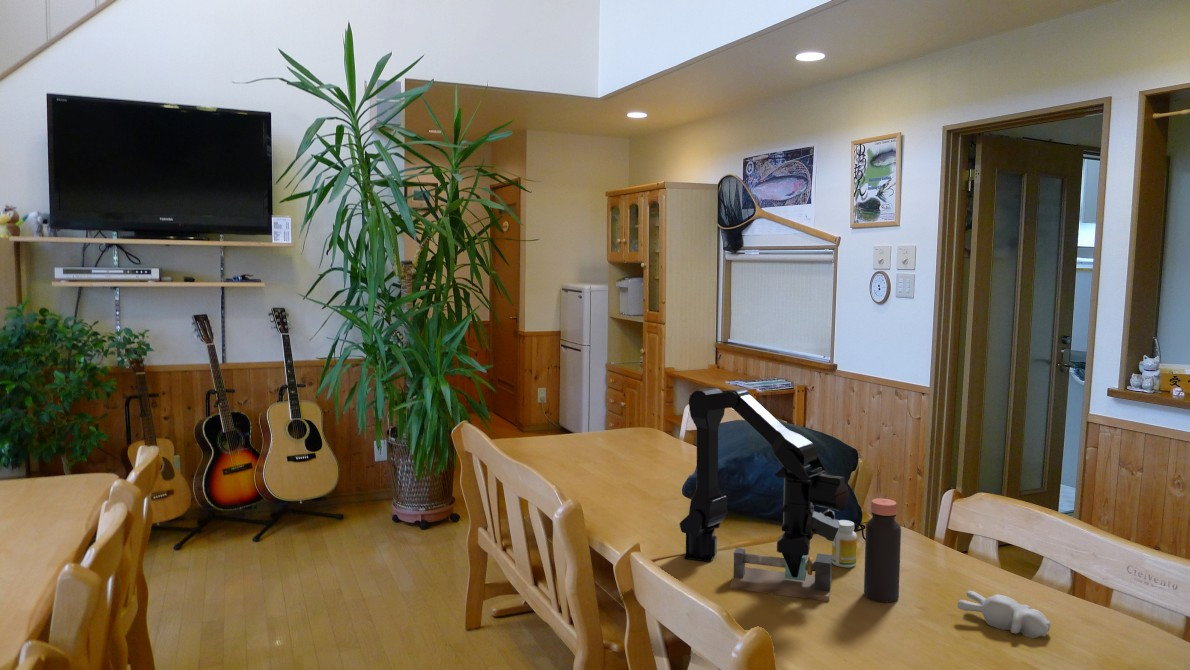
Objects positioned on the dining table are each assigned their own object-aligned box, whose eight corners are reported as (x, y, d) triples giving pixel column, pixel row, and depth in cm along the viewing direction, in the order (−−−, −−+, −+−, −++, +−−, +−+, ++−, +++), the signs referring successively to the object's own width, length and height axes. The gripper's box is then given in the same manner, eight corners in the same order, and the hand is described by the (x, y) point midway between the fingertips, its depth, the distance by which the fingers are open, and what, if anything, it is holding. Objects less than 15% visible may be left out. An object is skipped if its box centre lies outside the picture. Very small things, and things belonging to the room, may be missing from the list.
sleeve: (785, 578, 167) (785, 556, 167) (787, 569, 172) (788, 548, 171) (804, 580, 166) (805, 558, 166) (806, 572, 170) (807, 550, 170)
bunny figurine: (1044, 626, 142) (957, 594, 152) (1039, 652, 143) (952, 618, 153) (1056, 608, 150) (971, 578, 159) (1051, 633, 150) (967, 602, 160)
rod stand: (730, 588, 169) (731, 556, 168) (738, 570, 178) (738, 540, 178) (828, 601, 162) (829, 568, 161) (831, 582, 171) (832, 550, 171)
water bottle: (899, 592, 166) (903, 499, 164) (897, 605, 160) (900, 508, 158) (865, 587, 169) (868, 495, 167) (861, 599, 163) (864, 504, 161)
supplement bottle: (826, 563, 182) (827, 522, 182) (840, 557, 186) (841, 517, 185) (847, 570, 178) (848, 528, 177) (860, 564, 182) (862, 523, 181)
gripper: (835, 518, 156) (833, 595, 157) (839, 491, 173) (838, 561, 175) (777, 512, 160) (775, 587, 161) (787, 487, 177) (786, 555, 179)
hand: (796, 572), depth 169 cm, fingers closed on sleeve, 5 cm apart
